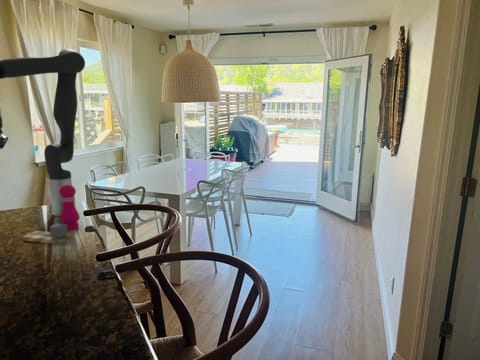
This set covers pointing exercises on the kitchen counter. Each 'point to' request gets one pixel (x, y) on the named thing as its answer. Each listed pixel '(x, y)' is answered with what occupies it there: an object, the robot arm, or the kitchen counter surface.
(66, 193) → the pepper mill
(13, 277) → the kitchen counter surface
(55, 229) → the selector knob
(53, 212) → the robot arm
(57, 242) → the selector board
